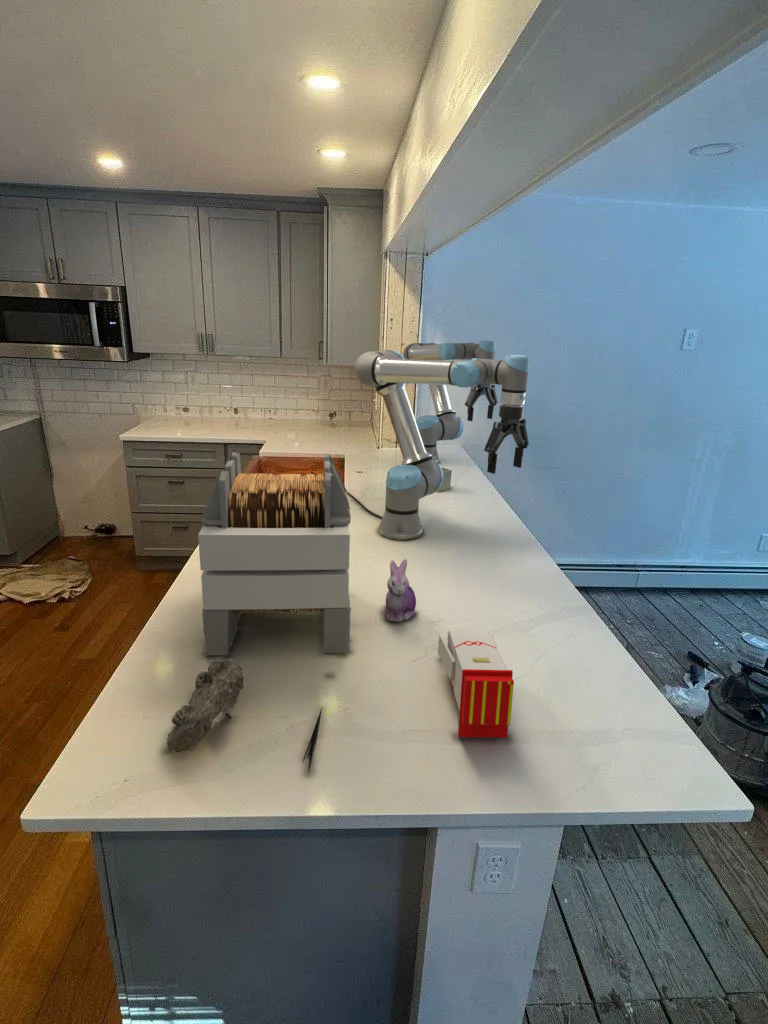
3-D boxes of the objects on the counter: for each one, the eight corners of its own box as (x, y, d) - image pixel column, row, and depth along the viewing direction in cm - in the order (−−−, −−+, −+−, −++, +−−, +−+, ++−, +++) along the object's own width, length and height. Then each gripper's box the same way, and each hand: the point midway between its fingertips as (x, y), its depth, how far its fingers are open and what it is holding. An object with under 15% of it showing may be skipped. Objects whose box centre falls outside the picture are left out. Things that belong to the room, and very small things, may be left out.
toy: (488, 613, 130) (523, 677, 101) (484, 667, 133) (517, 744, 104) (435, 612, 130) (455, 676, 101) (432, 666, 133) (451, 743, 103)
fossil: (192, 660, 117) (244, 628, 112) (224, 691, 120) (276, 661, 115) (142, 746, 98) (202, 712, 93) (182, 779, 101) (242, 748, 96)
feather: (331, 679, 122) (336, 673, 122) (307, 777, 96) (313, 769, 95) (324, 675, 122) (329, 669, 121) (298, 772, 95) (304, 764, 95)
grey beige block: (450, 489, 252) (451, 470, 250) (438, 491, 248) (440, 472, 245) (438, 485, 258) (439, 466, 255) (426, 487, 253) (428, 468, 250)
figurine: (392, 627, 141) (395, 572, 136) (374, 608, 149) (376, 556, 144) (425, 619, 145) (429, 566, 140) (405, 601, 154) (408, 550, 149)
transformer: (226, 586, 157) (217, 442, 143) (344, 585, 161) (346, 445, 147) (202, 658, 125) (189, 482, 112) (350, 654, 129) (354, 483, 115)
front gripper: (496, 410, 170) (488, 478, 177) (544, 404, 185) (536, 467, 192) (477, 406, 175) (470, 472, 182) (526, 400, 191) (518, 462, 198)
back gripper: (496, 373, 276) (491, 416, 283) (459, 374, 262) (455, 420, 269) (508, 374, 271) (503, 419, 278) (471, 376, 256) (467, 423, 263)
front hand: (504, 469), depth 187 cm, fingers open, 13 cm apart
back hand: (479, 419), depth 273 cm, fingers open, 13 cm apart
